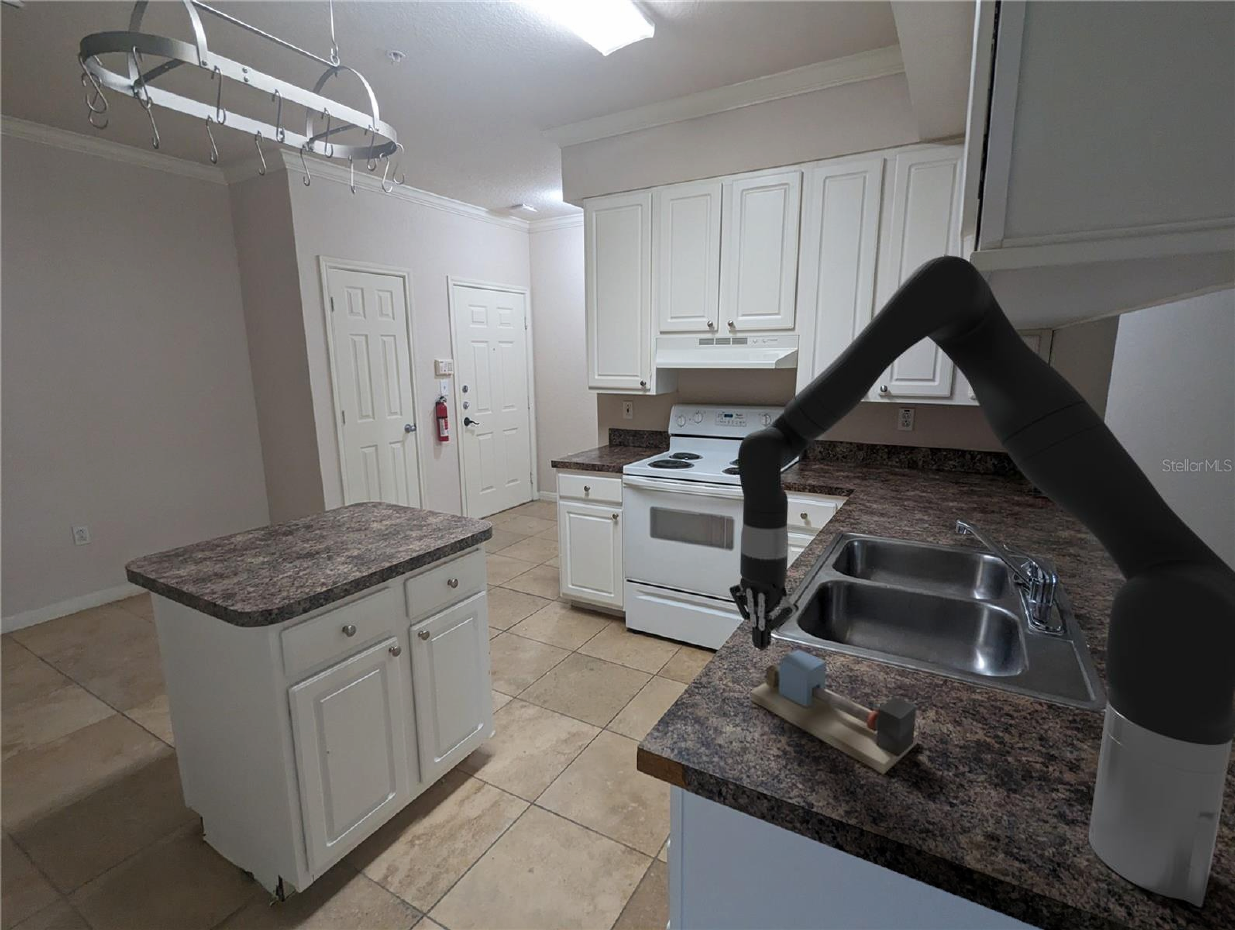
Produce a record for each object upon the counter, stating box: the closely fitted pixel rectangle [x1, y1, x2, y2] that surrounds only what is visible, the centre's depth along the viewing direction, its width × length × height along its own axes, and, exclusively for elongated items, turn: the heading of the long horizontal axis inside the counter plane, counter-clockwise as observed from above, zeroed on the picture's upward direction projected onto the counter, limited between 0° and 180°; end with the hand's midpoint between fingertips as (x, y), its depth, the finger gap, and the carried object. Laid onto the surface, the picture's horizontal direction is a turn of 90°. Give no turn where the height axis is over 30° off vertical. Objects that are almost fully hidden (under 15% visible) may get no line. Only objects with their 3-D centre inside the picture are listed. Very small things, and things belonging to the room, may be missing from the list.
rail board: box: [749, 663, 920, 775], centre depth 84 cm, size 22×10×7 cm, turn 38°
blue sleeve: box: [779, 648, 827, 707], centre depth 87 cm, size 5×5×6 cm
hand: (761, 647), depth 94 cm, fingers closed
